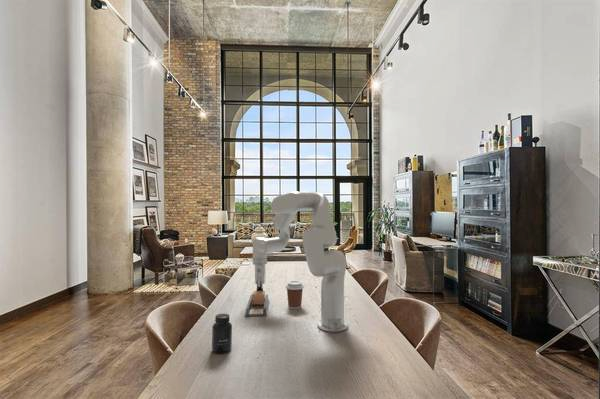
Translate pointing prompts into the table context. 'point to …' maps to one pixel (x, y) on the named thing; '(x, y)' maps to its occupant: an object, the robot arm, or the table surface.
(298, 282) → the coffee cup
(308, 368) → the table surface
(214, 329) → the supplement bottle
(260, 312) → the steel chute
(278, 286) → the table surface
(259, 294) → the block
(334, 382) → the table surface
